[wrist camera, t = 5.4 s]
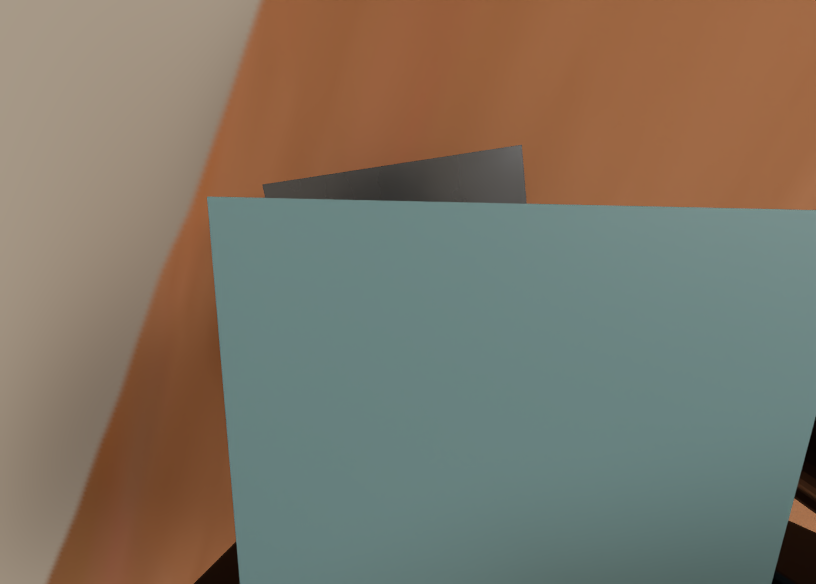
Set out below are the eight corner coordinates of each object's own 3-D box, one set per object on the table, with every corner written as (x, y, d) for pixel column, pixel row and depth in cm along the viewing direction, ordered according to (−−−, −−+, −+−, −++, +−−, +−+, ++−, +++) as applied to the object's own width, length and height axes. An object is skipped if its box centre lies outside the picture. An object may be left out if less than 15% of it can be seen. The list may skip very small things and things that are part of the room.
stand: (528, 437, 19) (548, 472, 16) (341, 467, 19) (334, 506, 16) (501, 154, 16) (521, 144, 13) (282, 188, 16) (262, 184, 13)
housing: (600, 208, 7) (868, 211, 3) (546, 652, 9) (663, 991, 5) (314, 203, 7) (206, 196, 3) (328, 657, 9) (276, 1016, 5)
